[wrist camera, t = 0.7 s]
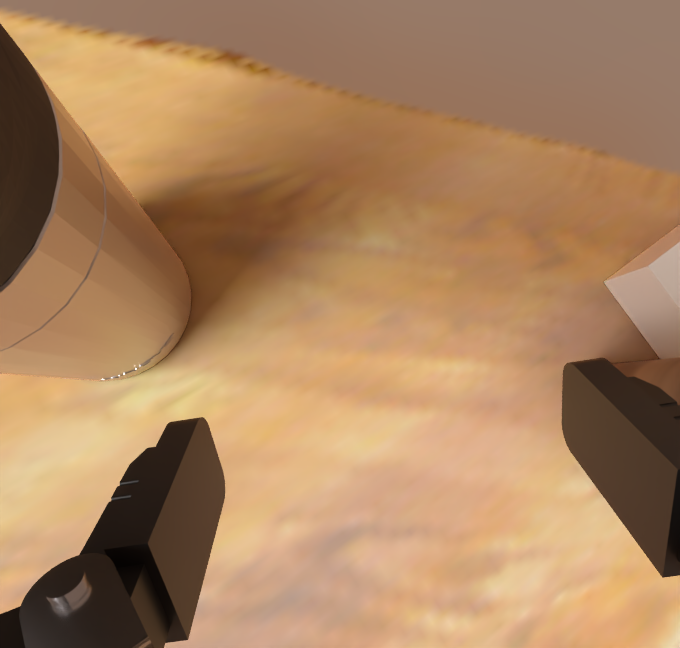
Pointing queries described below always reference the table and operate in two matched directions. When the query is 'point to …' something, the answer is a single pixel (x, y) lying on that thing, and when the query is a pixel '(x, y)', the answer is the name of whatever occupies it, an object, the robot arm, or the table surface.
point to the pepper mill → (656, 374)
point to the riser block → (653, 293)
